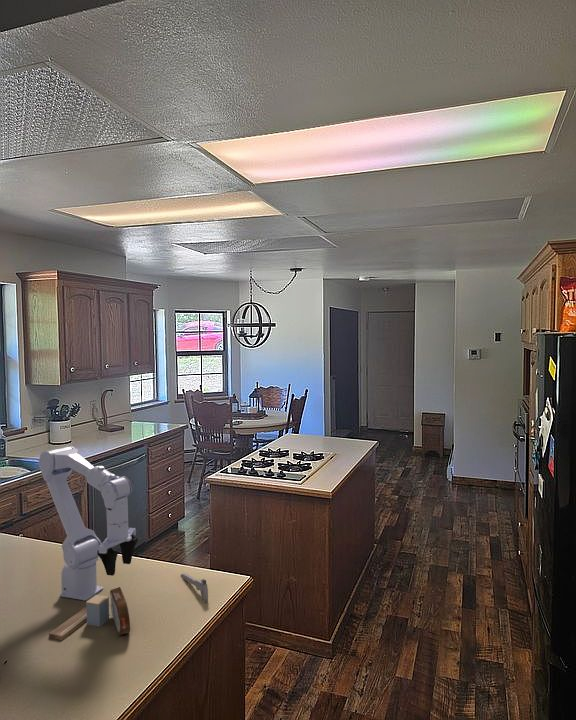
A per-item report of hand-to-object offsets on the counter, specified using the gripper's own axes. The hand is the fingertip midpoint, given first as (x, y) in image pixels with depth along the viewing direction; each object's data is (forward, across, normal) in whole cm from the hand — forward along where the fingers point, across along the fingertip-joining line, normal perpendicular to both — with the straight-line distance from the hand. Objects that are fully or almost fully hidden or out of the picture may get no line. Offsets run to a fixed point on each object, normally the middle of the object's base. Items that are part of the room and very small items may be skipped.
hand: (118, 569), depth 147 cm
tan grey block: (+10, -9, +1) cm, 14 cm away
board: (+10, -12, +6) cm, 17 cm away
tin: (+11, -9, -6) cm, 15 cm away
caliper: (+11, +15, -15) cm, 24 cm away
